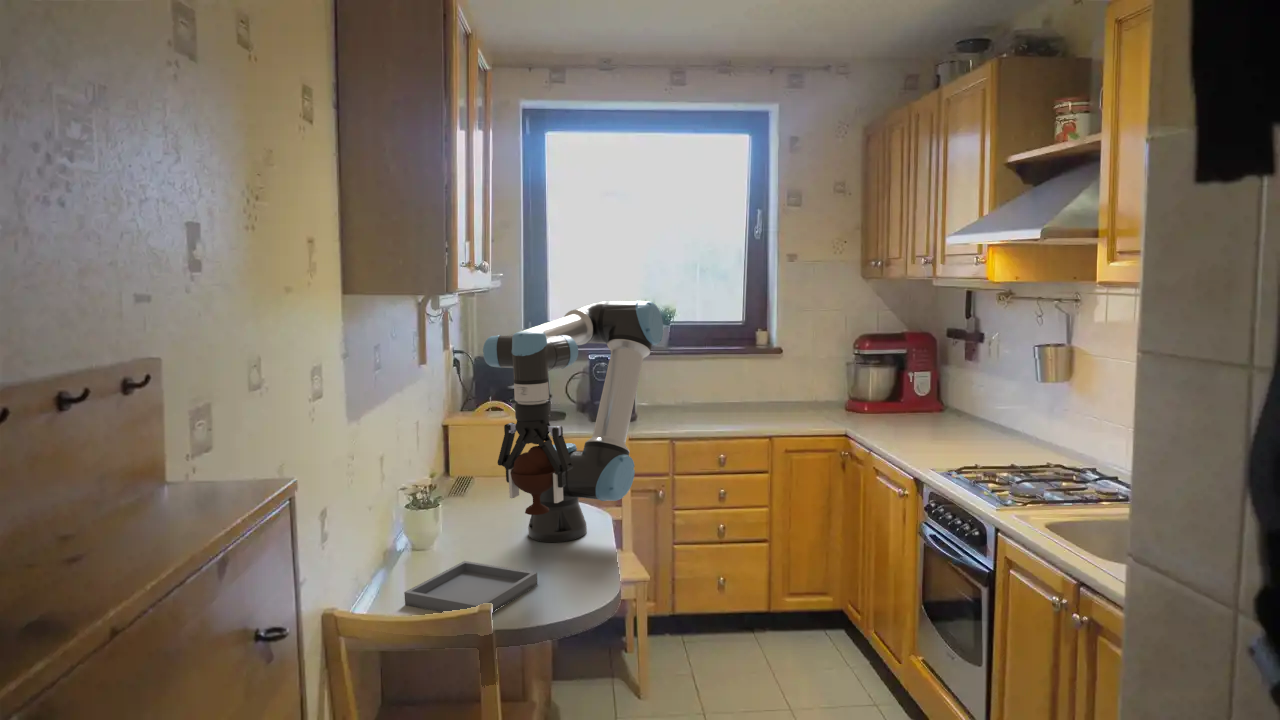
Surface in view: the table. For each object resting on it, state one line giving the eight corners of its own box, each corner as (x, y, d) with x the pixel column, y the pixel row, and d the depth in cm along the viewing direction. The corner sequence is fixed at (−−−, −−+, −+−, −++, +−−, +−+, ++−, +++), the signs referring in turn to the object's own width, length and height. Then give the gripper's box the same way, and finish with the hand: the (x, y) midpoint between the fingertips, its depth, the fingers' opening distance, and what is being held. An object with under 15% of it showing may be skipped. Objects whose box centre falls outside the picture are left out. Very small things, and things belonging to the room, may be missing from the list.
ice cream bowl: (561, 503, 200) (558, 439, 199) (560, 517, 189) (557, 449, 187) (515, 505, 200) (512, 441, 198) (510, 519, 189) (507, 451, 187)
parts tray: (465, 572, 201) (464, 560, 201) (537, 584, 192) (536, 572, 192) (405, 604, 184) (404, 592, 183) (481, 620, 175) (481, 606, 174)
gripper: (478, 402, 193) (483, 498, 196) (569, 406, 183) (573, 508, 186) (497, 396, 200) (502, 490, 203) (586, 401, 190) (590, 499, 192)
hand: (536, 499), depth 194 cm, fingers closed on ice cream bowl, 11 cm apart
